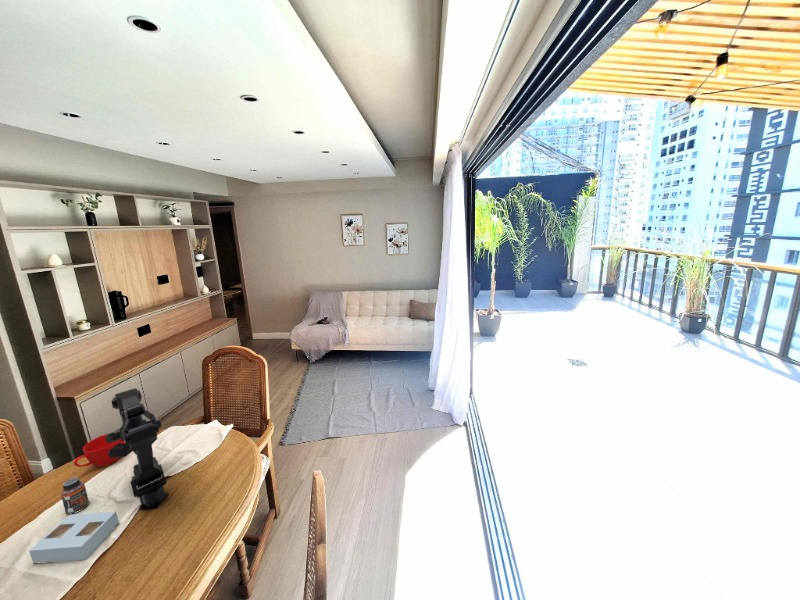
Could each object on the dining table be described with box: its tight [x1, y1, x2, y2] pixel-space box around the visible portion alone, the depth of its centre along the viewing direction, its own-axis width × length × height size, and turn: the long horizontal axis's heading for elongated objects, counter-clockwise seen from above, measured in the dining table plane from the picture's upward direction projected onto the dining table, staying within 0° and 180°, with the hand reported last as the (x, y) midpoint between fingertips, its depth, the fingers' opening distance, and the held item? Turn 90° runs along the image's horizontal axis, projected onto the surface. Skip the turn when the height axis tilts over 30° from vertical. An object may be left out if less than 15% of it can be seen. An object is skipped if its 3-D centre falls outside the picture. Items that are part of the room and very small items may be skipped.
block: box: [28, 510, 120, 564], centre depth 97 cm, size 15×12×5 cm
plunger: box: [51, 524, 70, 538], centre depth 96 cm, size 4×4×4 cm
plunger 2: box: [81, 522, 99, 536], centre depth 97 cm, size 4×4×4 cm
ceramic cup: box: [73, 433, 125, 468], centre depth 131 cm, size 13×17×10 cm
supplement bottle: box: [60, 477, 90, 515], centre depth 109 cm, size 6×6×11 cm
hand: (141, 456), depth 118 cm, fingers closed
